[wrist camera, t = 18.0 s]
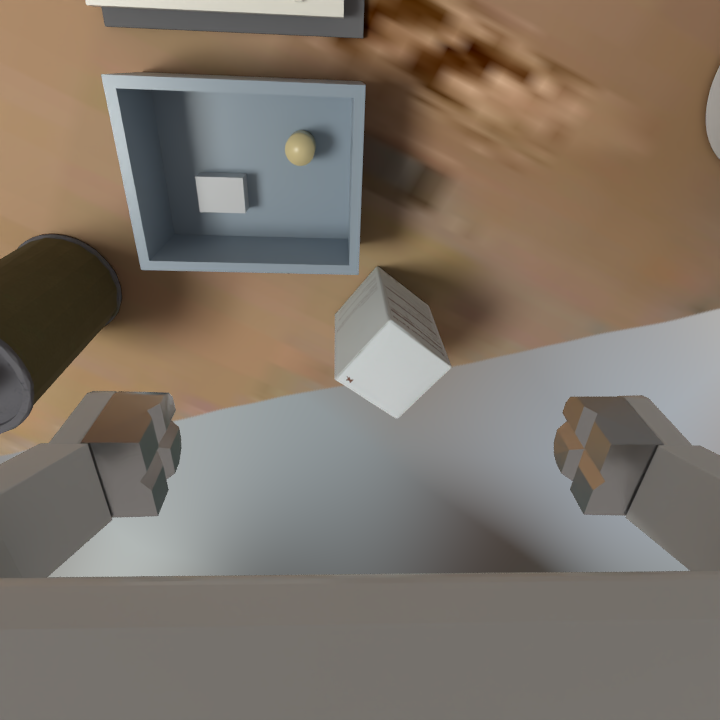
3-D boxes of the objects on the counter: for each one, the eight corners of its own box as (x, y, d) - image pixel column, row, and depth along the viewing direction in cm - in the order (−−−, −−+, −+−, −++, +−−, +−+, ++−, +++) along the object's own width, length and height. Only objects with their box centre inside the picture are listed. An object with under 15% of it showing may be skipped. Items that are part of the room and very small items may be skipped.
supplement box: (385, 351, 55) (396, 423, 44) (332, 313, 52) (331, 380, 42) (431, 304, 52) (454, 368, 41) (378, 262, 49) (389, 319, 39)
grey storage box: (361, 81, 41) (365, 85, 34) (355, 244, 48) (358, 274, 42) (141, 72, 40) (101, 74, 33) (169, 239, 48) (141, 269, 41)
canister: (68, 213, 46) (-92, 304, 29) (144, 303, 51) (45, 425, 34) (-15, 267, 48) (-209, 380, 31) (65, 347, 53) (-65, 483, 36)
